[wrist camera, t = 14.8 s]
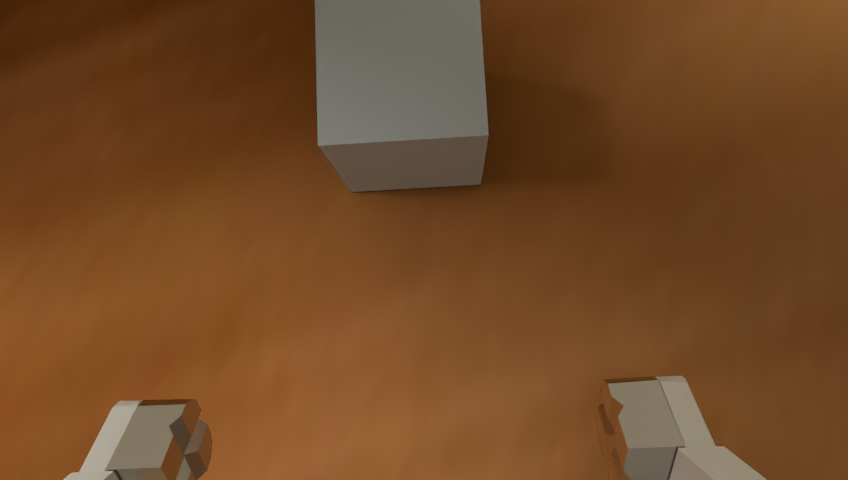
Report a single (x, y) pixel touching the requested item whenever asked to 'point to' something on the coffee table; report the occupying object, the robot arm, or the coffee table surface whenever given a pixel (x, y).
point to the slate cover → (401, 92)
